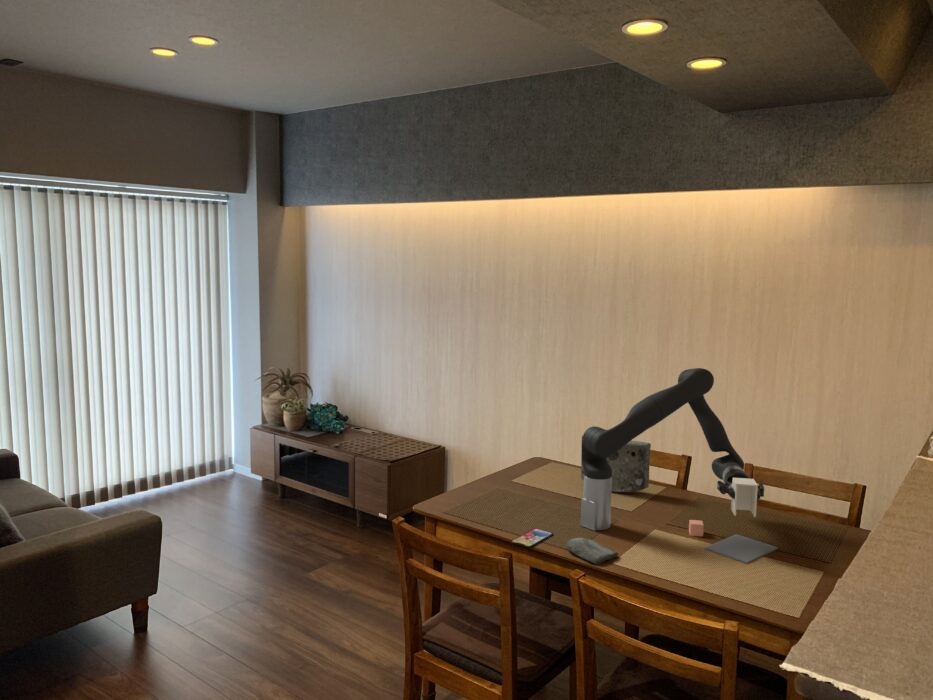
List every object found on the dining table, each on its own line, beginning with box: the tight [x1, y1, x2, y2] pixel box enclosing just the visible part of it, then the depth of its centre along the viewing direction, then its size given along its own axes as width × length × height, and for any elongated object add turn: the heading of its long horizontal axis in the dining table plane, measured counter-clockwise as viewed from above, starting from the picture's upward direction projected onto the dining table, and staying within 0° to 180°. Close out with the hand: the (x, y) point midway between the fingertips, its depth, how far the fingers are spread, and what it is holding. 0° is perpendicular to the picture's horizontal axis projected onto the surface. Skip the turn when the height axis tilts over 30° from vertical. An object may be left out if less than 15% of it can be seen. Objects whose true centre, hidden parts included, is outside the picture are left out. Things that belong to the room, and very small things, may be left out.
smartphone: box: [510, 528, 554, 549], centre depth 232 cm, size 7×1×15 cm
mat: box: [704, 533, 779, 565], centre depth 224 cm, size 18×14×1 cm
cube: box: [688, 519, 705, 537], centre depth 237 cm, size 4×4×4 cm
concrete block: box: [580, 435, 652, 493], centre depth 281 cm, size 27×9×20 cm, turn 55°
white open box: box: [730, 478, 759, 518], centre depth 222 cm, size 6×6×10 cm
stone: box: [565, 537, 619, 566], centre depth 220 cm, size 11×4×15 cm
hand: (745, 496), depth 220 cm, fingers closed on white open box, 6 cm apart
